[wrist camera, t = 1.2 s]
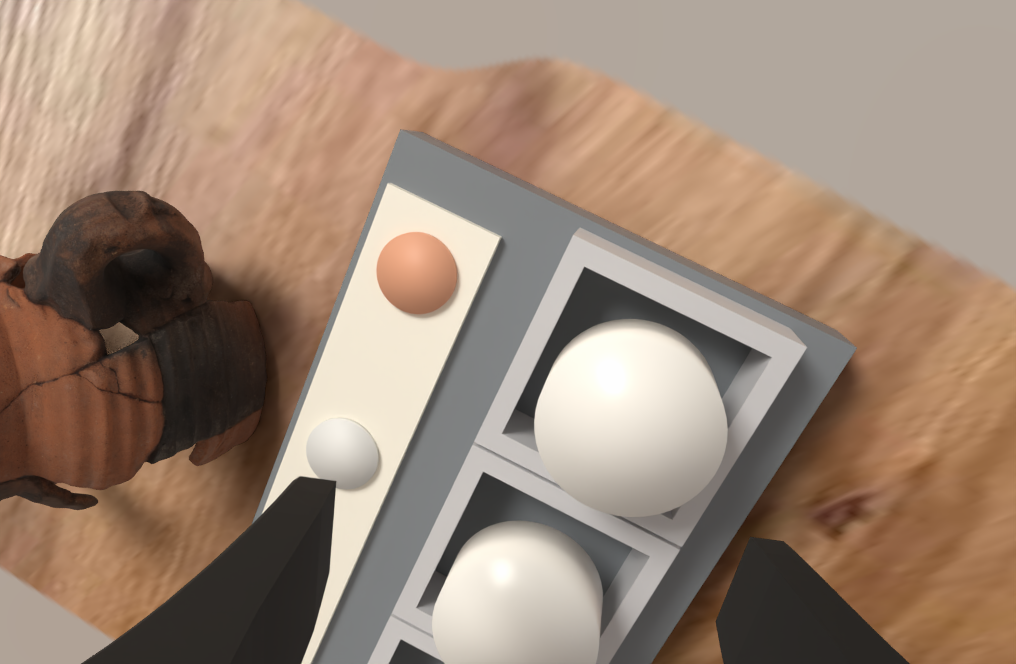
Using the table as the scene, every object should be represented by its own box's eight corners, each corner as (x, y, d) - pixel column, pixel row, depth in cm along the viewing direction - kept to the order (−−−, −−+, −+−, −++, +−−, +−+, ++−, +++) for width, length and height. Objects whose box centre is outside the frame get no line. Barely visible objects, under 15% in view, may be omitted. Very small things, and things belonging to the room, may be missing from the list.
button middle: (630, 567, 19) (629, 612, 17) (561, 680, 20) (553, 734, 18) (488, 494, 19) (471, 531, 17) (429, 611, 20) (407, 657, 18)
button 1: (751, 367, 17) (765, 393, 15) (666, 506, 18) (669, 548, 16) (590, 289, 17) (584, 305, 15) (518, 432, 18) (504, 464, 17)
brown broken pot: (246, 506, 27) (-12, 600, 21) (150, 343, 31) (-90, 381, 25) (336, 269, 20) (-1, 303, 14) (200, 100, 24) (-109, 70, 18)
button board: (836, 330, 20) (882, 369, 17) (552, 777, 26) (537, 881, 23) (422, 132, 21) (374, 125, 17) (237, 608, 27) (172, 680, 23)
